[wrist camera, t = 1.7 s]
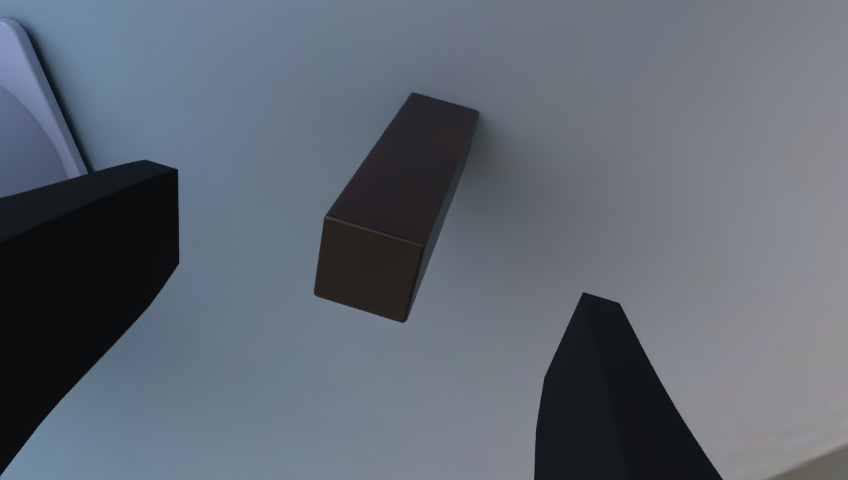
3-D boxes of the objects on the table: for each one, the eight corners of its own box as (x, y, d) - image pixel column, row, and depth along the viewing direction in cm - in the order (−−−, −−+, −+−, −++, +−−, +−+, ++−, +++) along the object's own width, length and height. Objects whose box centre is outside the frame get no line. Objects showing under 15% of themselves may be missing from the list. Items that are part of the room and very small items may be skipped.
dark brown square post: (398, 153, 17) (311, 297, 12) (411, 90, 16) (323, 215, 11) (462, 172, 17) (405, 325, 11) (480, 110, 16) (425, 246, 10)
